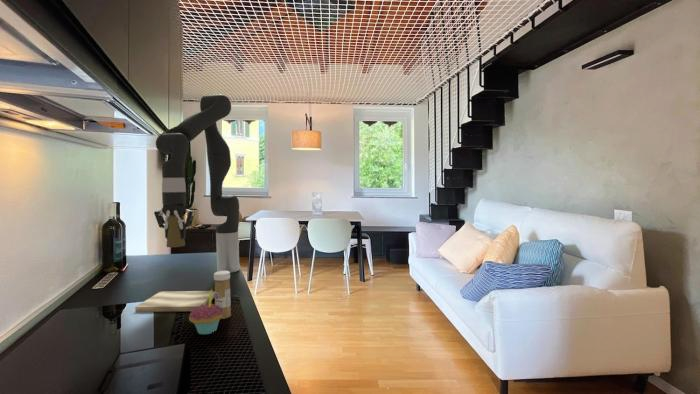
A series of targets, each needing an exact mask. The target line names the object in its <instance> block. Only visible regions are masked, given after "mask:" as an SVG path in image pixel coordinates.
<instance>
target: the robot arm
mask: <svg viewBox="0 0 700 394" xmlns="http://www.w3.org/2000/svg"><path fill="white" fill-rule="evenodd" d="M199 107H200V111H199V112H196V113H194V114H193V115H192V114H191V115H190V116H188V117H186V118H185V119H183V121H181V122H180V123H179V124H178V125H176V126H174V127H172V128H170V129H167V130H165V131H163V132H162V133H160V134H159V135H158V136H157V138H156V141H155V147H156V149H157V151H158V152H160V153H161V154H166V155H171V157H170V159H168V160H165V161H163V162H162V163H161V164H162V166H161V173H162V174H161V175H162V178H161V179H162V180H161V198H162V199H161V200H162V208H161V210H155V211H154V213H153V214H154V216H155V217H154V218H155V220H156V222H157V224H158V227H159V228H162V229H164V235H165V236H164V238H165V239H167V236H168V227H169V224H168V222H167V218H168V217H169V216H170V215H175V216H176V217H177V218H178V219H179V220H178V223H179V227H180V236H181V240H183V238H184V240H185V239H186V237H187V228H189V227H191V226H192V224H193V220H194V219H195V218H194V217H195V214H196V211H195V210H194V209H193V210H190V209H188V207H187V191H186V190H187V188H186V185H187V184H186V180H185V179H186V177H185V175H186V173H185V164H186V160H187V158H188V154H189V150H190V149H189V148H190V143H189V142H192V141H194V140H195V138H197V137H198V136H199V135H200V134H201V133H203V131H204V136H205V137H204V138H205V143H206V144H205V145H206V157H207V166H208V173H209V190H210V191H209V192H210V197H209V198H210V210H211V212H212V215H213V216H215V217H226V221H224V222H223V223H221V224H217V225H216V227H215V243H216V244H215V245H216V268H217V269H216V270H217V271H216V272H218V271H229V272H230V274H232V273H235V272H238V271H240V249H239V248H240V246H239V245H240V244H239V243H240V242H239V241H240V240H239V226H240V202H239V199H238V197H237V196H236V195H233V194H228V195H227V194H223V183H224V181H225V178H226V177H227V174H228V173H229V171H230V168H231V166H232V165H231V164H232V161H231V160H232V159H231V158H232V157H231V150H230V147H229V145H228V143H227V141H226V140H225V139H224V138H223V136H222V134H221V133H220V130H219V129H218V125H217V122H218V121H220V120H222V119H224V118H226V117H228V116H229V114H231V111H232V103H231V100H230V98H229V96H227V95H224V94H220V93H219V94H218V93H217V94H206V95H203V96H202V97H201V99H200V102H199ZM185 215H186V216H187V217H186V218H185ZM164 216H165V217H164ZM164 218H165V219H164ZM181 218H183V220H181Z"/></svg>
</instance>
